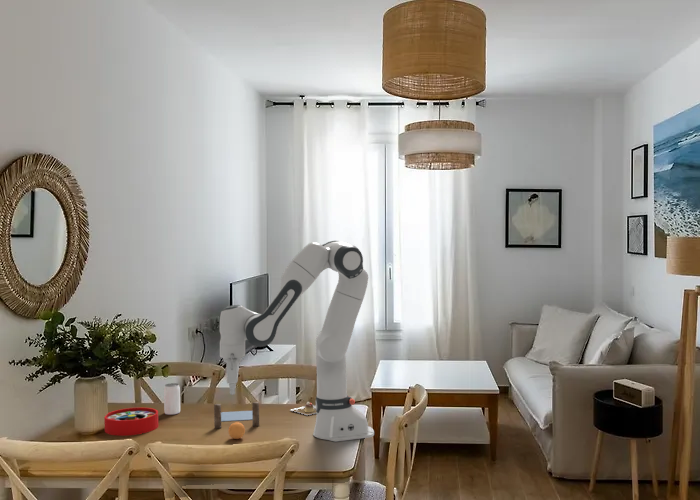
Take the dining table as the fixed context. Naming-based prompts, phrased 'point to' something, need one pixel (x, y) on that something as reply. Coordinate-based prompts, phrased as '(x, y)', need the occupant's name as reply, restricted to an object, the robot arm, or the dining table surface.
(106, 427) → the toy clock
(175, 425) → the dining table surface
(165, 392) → the can
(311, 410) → the dessert
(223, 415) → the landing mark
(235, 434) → the ball
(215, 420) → the left post
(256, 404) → the right post
